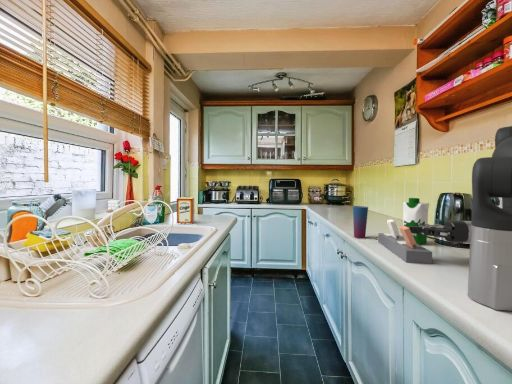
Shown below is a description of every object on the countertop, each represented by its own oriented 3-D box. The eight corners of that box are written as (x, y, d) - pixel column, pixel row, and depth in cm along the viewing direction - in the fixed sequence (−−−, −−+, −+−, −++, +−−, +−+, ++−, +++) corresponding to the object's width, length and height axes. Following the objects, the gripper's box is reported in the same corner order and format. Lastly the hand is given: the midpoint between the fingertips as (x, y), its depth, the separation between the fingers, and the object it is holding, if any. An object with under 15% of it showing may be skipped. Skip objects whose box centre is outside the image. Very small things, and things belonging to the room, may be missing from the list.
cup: (368, 239, 117) (369, 207, 116) (353, 238, 118) (354, 207, 118) (365, 236, 124) (366, 206, 123) (350, 235, 125) (351, 205, 124)
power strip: (431, 263, 83) (432, 251, 83) (405, 262, 84) (406, 249, 84) (390, 238, 118) (391, 229, 118) (373, 238, 119) (373, 229, 119)
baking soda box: (194, 221, 161) (194, 197, 160) (192, 223, 154) (192, 197, 154) (179, 222, 160) (179, 197, 159) (176, 223, 154) (176, 197, 153)
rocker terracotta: (417, 246, 86) (409, 227, 86) (412, 248, 87) (404, 229, 87) (411, 243, 91) (403, 225, 91) (407, 245, 91) (398, 227, 91)
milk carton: (399, 241, 113) (400, 197, 112) (408, 239, 118) (410, 197, 117) (420, 246, 106) (422, 199, 105) (429, 243, 111) (431, 198, 110)
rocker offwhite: (400, 237, 100) (394, 220, 100) (396, 238, 100) (390, 222, 100) (396, 235, 104) (390, 219, 104) (391, 236, 105) (386, 220, 105)
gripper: (451, 217, 92) (401, 216, 95) (477, 224, 79) (418, 222, 82) (450, 237, 93) (400, 235, 95) (476, 247, 80) (417, 244, 82)
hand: (408, 229), depth 89 cm, fingers closed
